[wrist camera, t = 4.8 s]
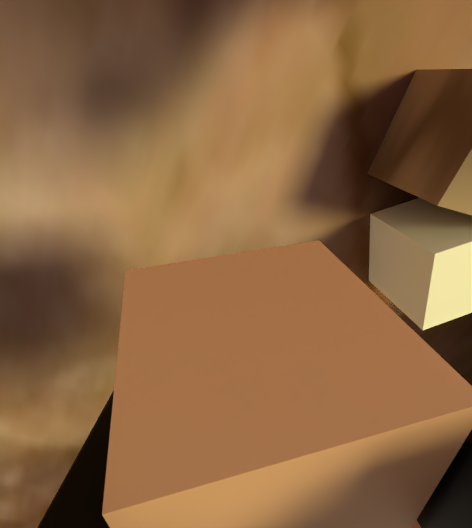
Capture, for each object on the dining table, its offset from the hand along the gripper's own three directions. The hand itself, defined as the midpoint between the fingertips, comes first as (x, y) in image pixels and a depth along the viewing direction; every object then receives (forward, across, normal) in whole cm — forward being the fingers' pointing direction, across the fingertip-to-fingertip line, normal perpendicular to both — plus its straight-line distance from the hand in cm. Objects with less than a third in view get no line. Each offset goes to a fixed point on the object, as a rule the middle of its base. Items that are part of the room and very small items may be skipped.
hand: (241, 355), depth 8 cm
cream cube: (+9, -13, +3) cm, 16 cm away
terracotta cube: (+1, 0, 0) cm, 1 cm away
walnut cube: (+9, -13, -3) cm, 16 cm away
